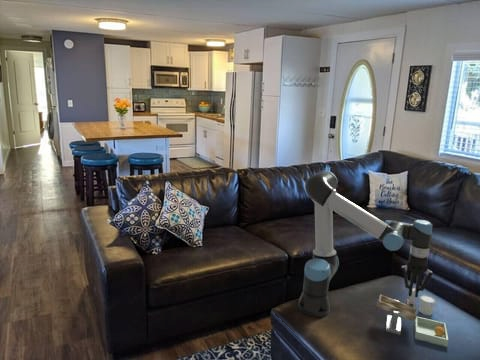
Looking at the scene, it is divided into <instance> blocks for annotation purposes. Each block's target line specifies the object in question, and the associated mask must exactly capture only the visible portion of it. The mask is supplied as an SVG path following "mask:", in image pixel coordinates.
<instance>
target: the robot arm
mask: <svg viewBox="0 0 480 360" xmlns="http://www.w3.org/2000/svg"><path fill="white" fill-rule="evenodd" d="M338 183H339V182H338V178H337V176H336V175H335V174H334V173H333V172H331V171H330V170H320V171H317V172H316V173H315V174H313V175H311V176H310V177H308V178H307V180H306V182H305V185H304V187H305V188H304V189H305V192H306V195H307V196H308V197H309V198H310V200H312V202H313V203H314V229H315V231H314V234H315V237H314V238H315V239H314V240H315V241H314V242H315V248H314V249H313V250H312V259H309V260H308V261H307V262H306V263H305V264H304V270H303V271H304V274H303V285H302V286H303V287H302V292H301V294H300V297H299V299H298V302H297V308H298V310H299V311H300V312H301V313H302V314H304V315H306V316H309V317H314V318H321V317H322V318H323V317H326V316H327V315H328V314H329V313H330V309H331V305H330V301H329V296H328V294H329V287H330V286H329V285H330V282H331V280H332V278H333V277H334V275H335V274H336V273H337V272H338V269H339V265H340V262H339V261H340V260H339V257H338V255H337V250H336V249H335V248H334V221H333V219H334V215H333V212H335V213H336V214H338V215H339V216H340V217H343V218H344V219H346V220H347V221H349V222H350V223H352V224H353V225H355V226H357V227H359V228H360V229H361V230H363V231H364V232H366V233H368V234H369V235H371V236H372V237H374V238H376V239H377V240H379V241H380V242H382V244H383V246H384V248H385V249H387V250H388V251H390V252H392V251H393V252H394V251H398V250H400V249H401V248H402V246H403V245H404V242H405V241H410V249H409V256H408V262H407V263H406V265H401V268H400V269H401V271H402V273H403V280H404V286H405V288H406V289H408V297H410V298H409V300H410V304H414V305H415V299H416V298H418V297H419V292H423V291H424V290H425V288H426V285H427V283H428V281H429V279H430V277H432V276H433V271H432V270H430V269H429V268H428V261H429V260H428V259H429V255H430V254H429V253H430V248H431V240H432V236H433V223H431V222H430V221H428V220H425V219H415V220H414V221H413V223H408V222H402V221H396V220H388V219H386V220H385V221H383V220H381V219H379V218H378V217H376V216H375V215H374V214H372V213H370V212H368V211H366V210H365V208H364V209H363V208H362V207H360V206H359V205H357V204H355V203H354V202H353V201H350V200H349V199H347V198H346V197H344V196H343V195H341V194H339V193H338V192H337V188H338ZM407 271H409V272H410V274H411V275H410V279H409V281H408V274H407ZM424 274H425V276H424V278H423V280H422V283H421V278H422V275H424ZM415 276H416V282H415V287H414V281H415V280H414V279H415ZM420 284H421V285H420Z"/></svg>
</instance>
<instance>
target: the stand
mask: <svg viewBox="0 0 480 360" xmlns="http://www.w3.org/2000/svg"><path fill="white" fill-rule="evenodd" d="M395 300H396V301H398V302H400V300H397V299H395ZM391 313H392V312H391ZM386 315H387V316H386V327H385V332H388V333H391V334H395V335H398V336H401V334H402V318H401V316H399V312H397V311H394V313H392V315H391V314H386Z"/></svg>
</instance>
